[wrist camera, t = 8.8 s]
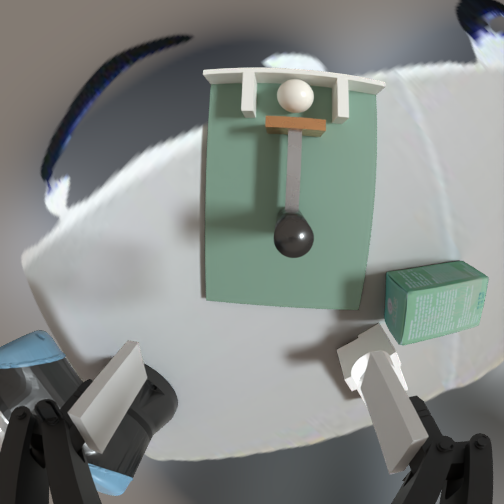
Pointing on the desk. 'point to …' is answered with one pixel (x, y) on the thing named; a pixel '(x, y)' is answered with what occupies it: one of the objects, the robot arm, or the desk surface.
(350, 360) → the bracket
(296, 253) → the small squeegee
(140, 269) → the desk surface
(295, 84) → the ball
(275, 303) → the pitch
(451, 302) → the box
